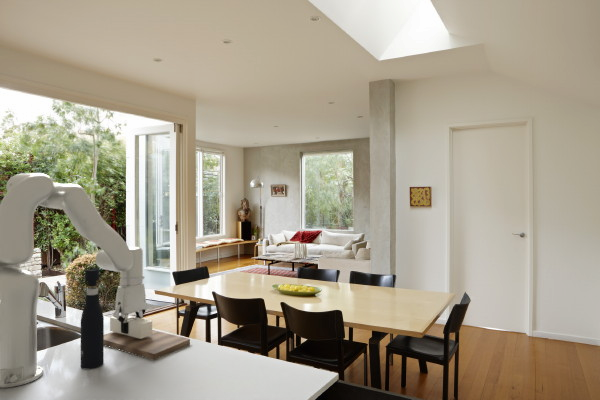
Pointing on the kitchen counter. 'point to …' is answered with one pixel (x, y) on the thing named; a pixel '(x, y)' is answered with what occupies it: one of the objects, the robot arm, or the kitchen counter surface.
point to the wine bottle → (92, 325)
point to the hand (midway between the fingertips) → (131, 330)
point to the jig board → (146, 343)
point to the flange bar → (133, 327)
